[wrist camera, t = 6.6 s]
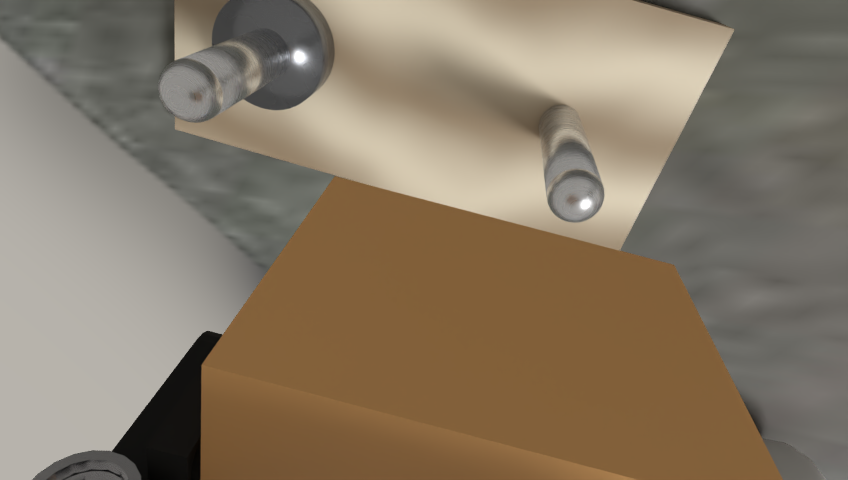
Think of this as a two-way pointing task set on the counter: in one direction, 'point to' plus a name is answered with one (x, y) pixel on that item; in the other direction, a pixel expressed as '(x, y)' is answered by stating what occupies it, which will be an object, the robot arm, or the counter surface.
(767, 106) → the counter surface
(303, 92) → the metal peg
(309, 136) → the board
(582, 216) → the stand rod
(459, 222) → the collar
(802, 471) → the donut
